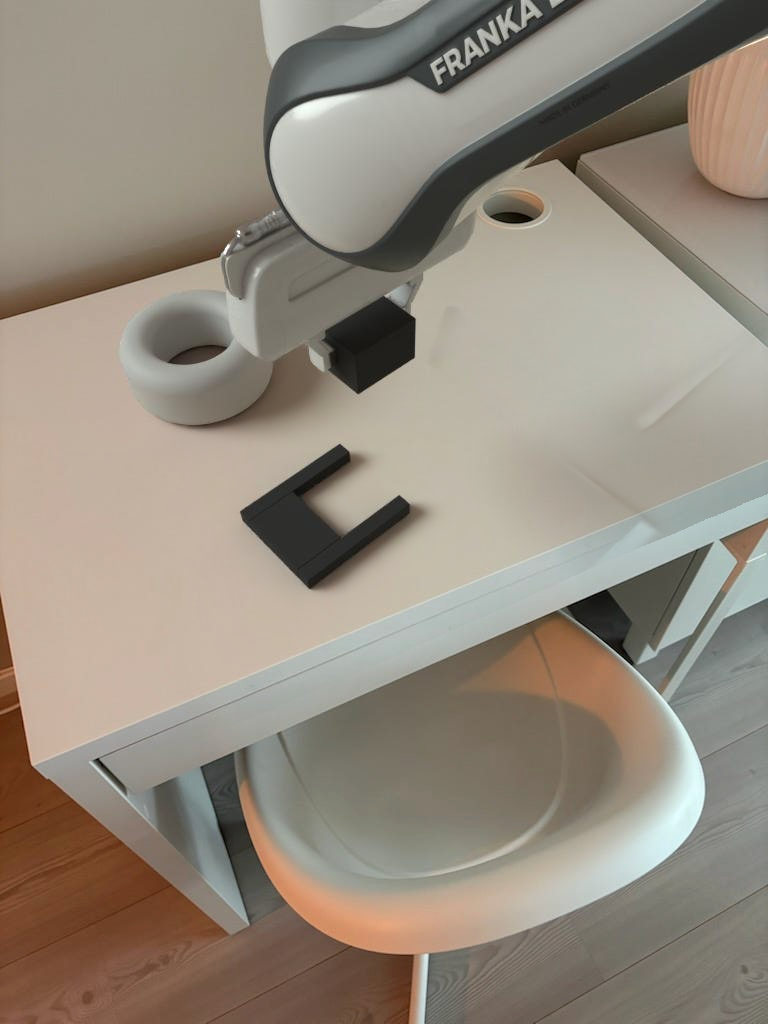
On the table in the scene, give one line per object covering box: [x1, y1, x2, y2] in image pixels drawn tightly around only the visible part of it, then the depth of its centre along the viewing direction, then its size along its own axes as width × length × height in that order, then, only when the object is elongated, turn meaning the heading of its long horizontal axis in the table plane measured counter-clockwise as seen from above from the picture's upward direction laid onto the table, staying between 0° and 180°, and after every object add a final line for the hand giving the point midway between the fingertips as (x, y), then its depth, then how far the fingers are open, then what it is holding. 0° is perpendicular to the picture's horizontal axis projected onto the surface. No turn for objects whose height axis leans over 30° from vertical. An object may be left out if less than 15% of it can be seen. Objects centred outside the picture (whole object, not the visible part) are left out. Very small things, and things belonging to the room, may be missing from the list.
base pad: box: [239, 443, 411, 590], centre depth 69 cm, size 10×12×2 cm
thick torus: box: [118, 289, 274, 426], centre depth 78 cm, size 15×15×7 cm
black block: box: [307, 295, 417, 395], centre depth 58 cm, size 6×6×4 cm
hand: (362, 341), depth 58 cm, fingers closed on black block, 6 cm apart
